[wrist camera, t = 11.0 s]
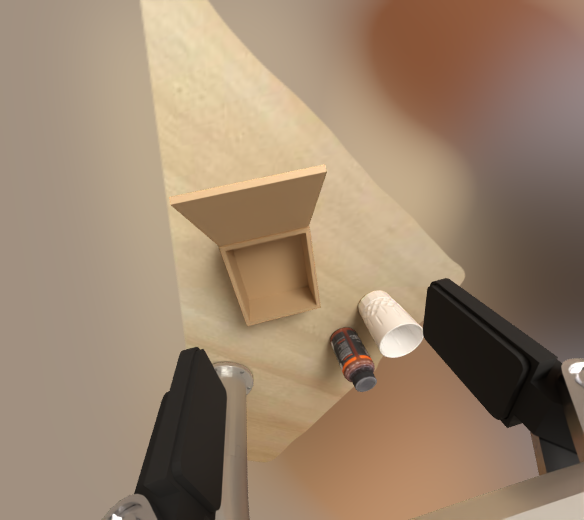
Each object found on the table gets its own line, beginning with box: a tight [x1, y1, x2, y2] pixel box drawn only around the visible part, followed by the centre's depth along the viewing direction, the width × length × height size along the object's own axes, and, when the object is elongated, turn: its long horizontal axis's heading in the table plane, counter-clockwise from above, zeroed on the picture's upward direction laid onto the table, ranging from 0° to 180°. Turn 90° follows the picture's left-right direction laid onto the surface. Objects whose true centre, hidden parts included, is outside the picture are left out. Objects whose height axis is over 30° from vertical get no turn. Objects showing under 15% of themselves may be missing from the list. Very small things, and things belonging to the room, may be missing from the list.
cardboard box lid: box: [169, 164, 327, 246], centre depth 25 cm, size 14×12×1 cm
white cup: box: [358, 290, 423, 358], centre depth 45 cm, size 8×8×10 cm
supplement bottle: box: [330, 328, 377, 392], centre depth 47 cm, size 6×6×11 cm
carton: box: [219, 226, 321, 326], centre depth 38 cm, size 14×12×6 cm
